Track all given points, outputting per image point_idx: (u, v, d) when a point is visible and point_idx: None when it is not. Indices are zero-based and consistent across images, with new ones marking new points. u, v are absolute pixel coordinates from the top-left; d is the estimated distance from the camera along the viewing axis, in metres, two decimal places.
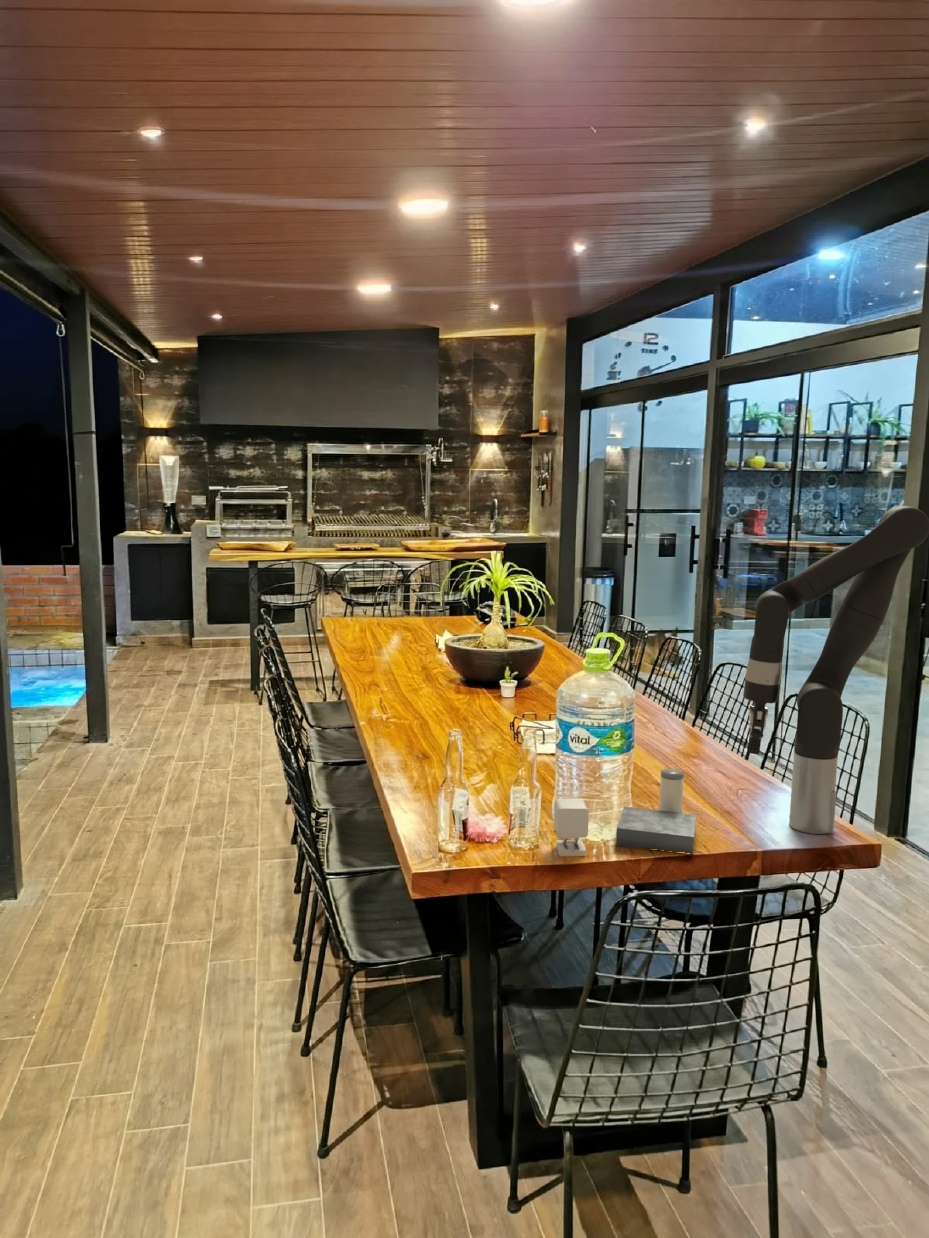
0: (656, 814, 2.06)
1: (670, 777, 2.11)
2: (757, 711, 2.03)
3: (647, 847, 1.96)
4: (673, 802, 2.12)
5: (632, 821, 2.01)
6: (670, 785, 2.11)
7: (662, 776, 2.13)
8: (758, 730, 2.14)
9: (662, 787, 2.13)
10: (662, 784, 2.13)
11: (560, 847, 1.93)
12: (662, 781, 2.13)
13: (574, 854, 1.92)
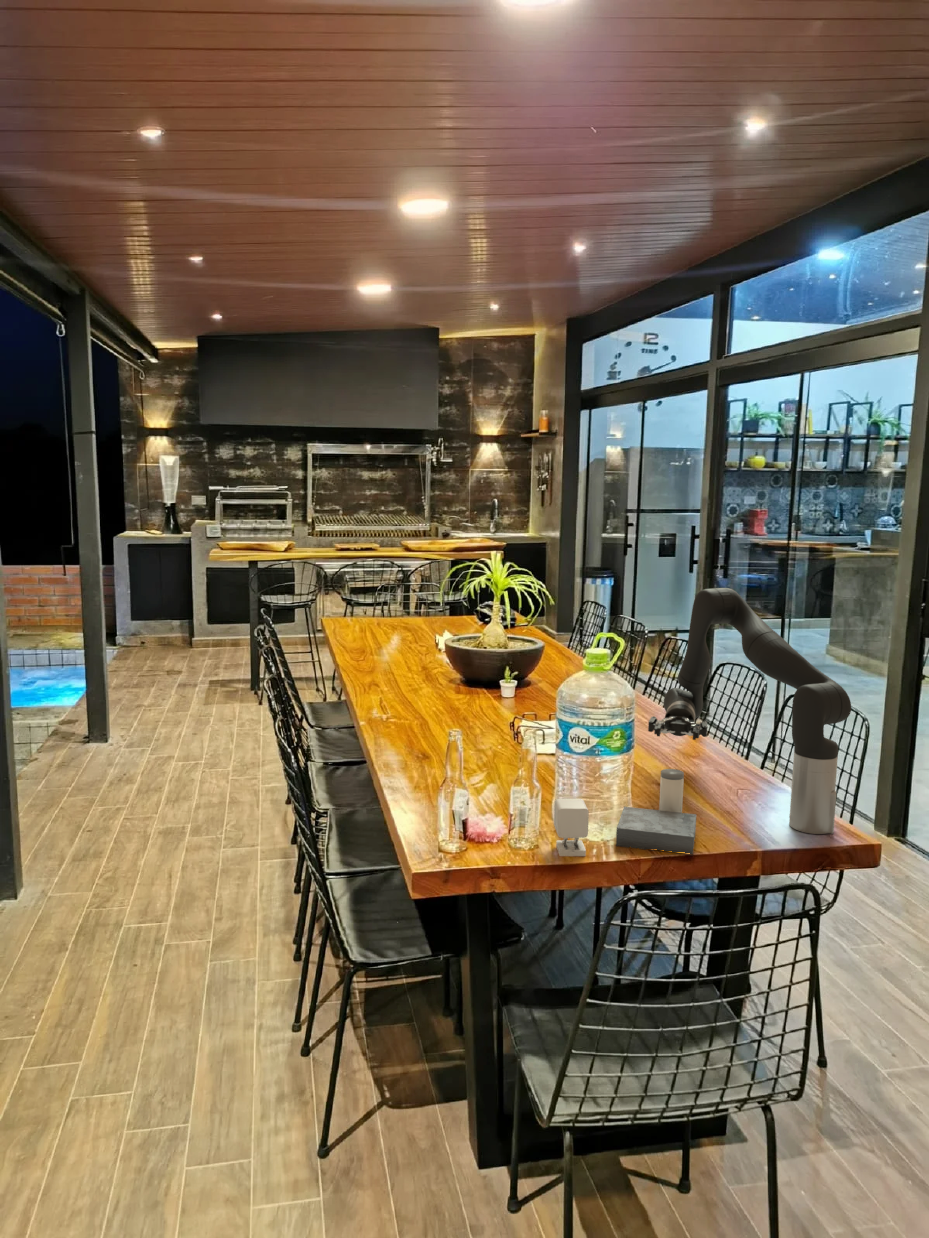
0: (656, 814, 2.06)
1: (670, 777, 2.11)
2: None
3: (647, 847, 1.96)
4: (673, 802, 2.12)
5: (632, 821, 2.01)
6: (670, 785, 2.11)
7: (662, 776, 2.13)
8: (693, 729, 2.26)
9: (662, 787, 2.13)
10: (662, 784, 2.13)
11: (560, 847, 1.93)
12: (662, 781, 2.13)
13: (574, 854, 1.92)
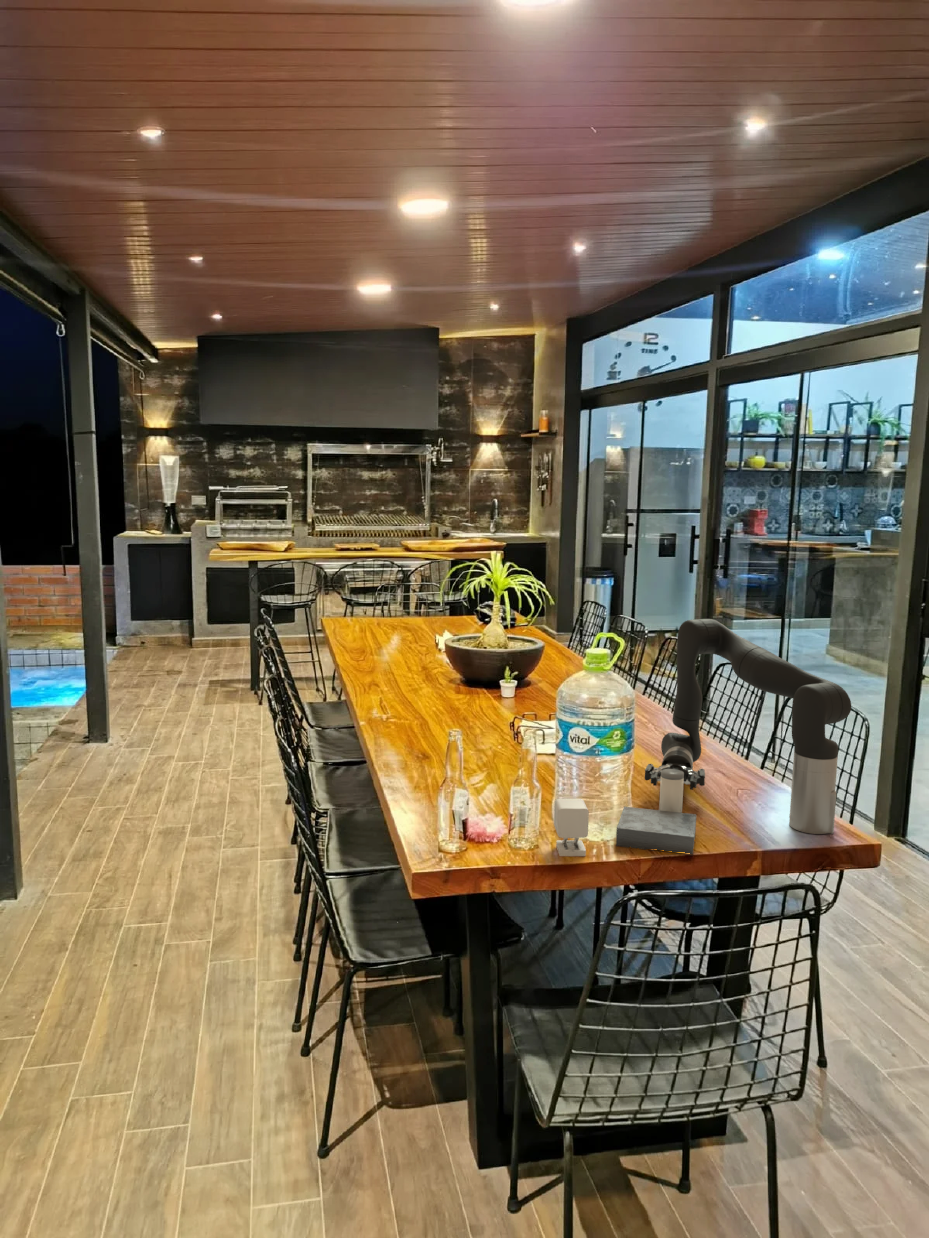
0: (656, 814, 2.06)
1: (670, 777, 2.11)
2: None
3: (647, 847, 1.96)
4: (673, 802, 2.12)
5: (632, 821, 2.01)
6: (670, 785, 2.11)
7: (662, 776, 2.13)
8: (690, 778, 2.21)
9: (662, 787, 2.13)
10: (662, 784, 2.13)
11: (560, 847, 1.93)
12: (662, 781, 2.13)
13: (574, 854, 1.92)
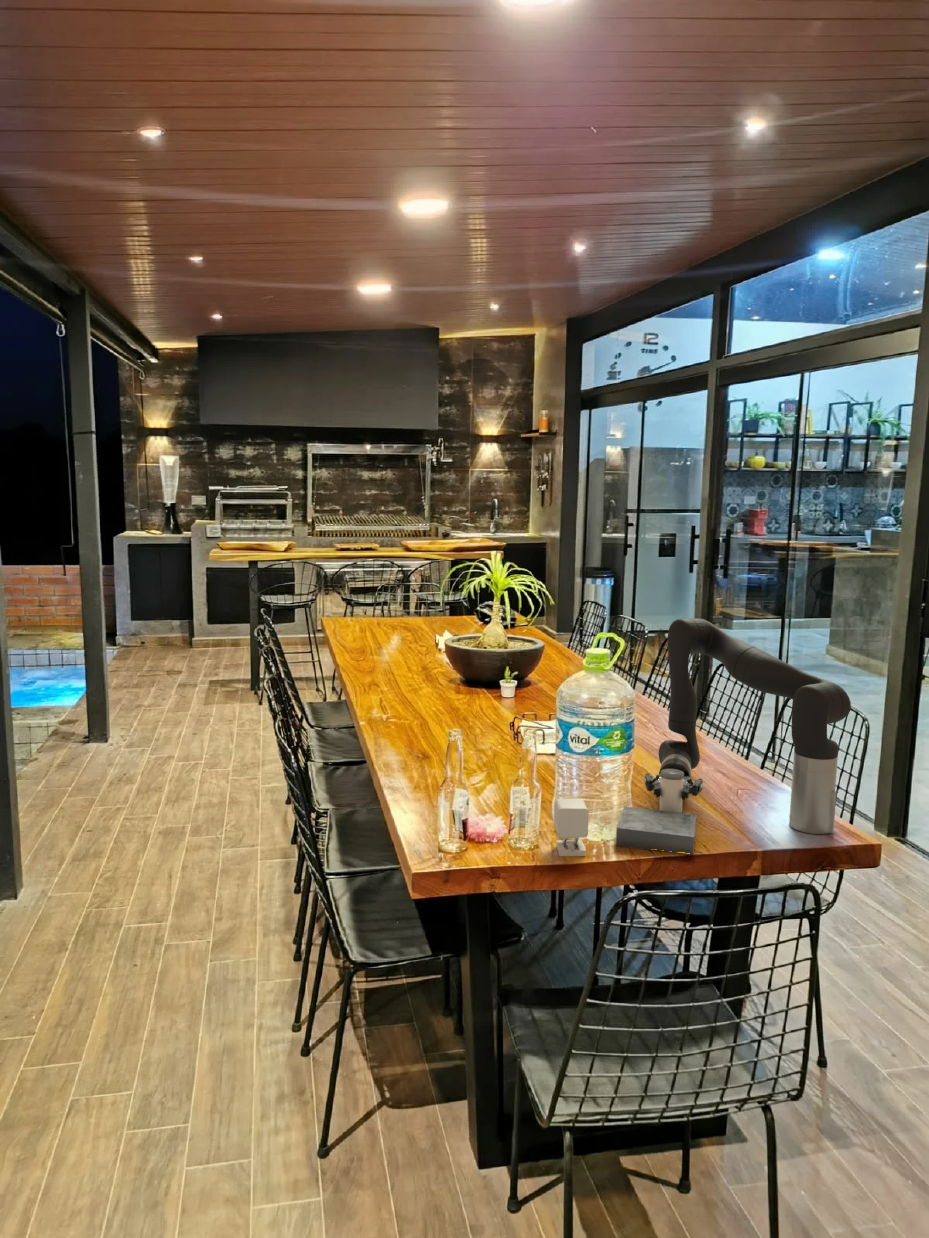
0: (656, 814, 2.06)
1: (670, 777, 2.11)
2: None
3: (647, 847, 1.96)
4: (673, 802, 2.12)
5: (632, 821, 2.01)
6: (670, 785, 2.11)
7: (662, 776, 2.13)
8: (683, 788, 2.14)
9: (662, 787, 2.13)
10: (662, 784, 2.13)
11: (560, 847, 1.93)
12: (662, 781, 2.13)
13: (574, 854, 1.92)
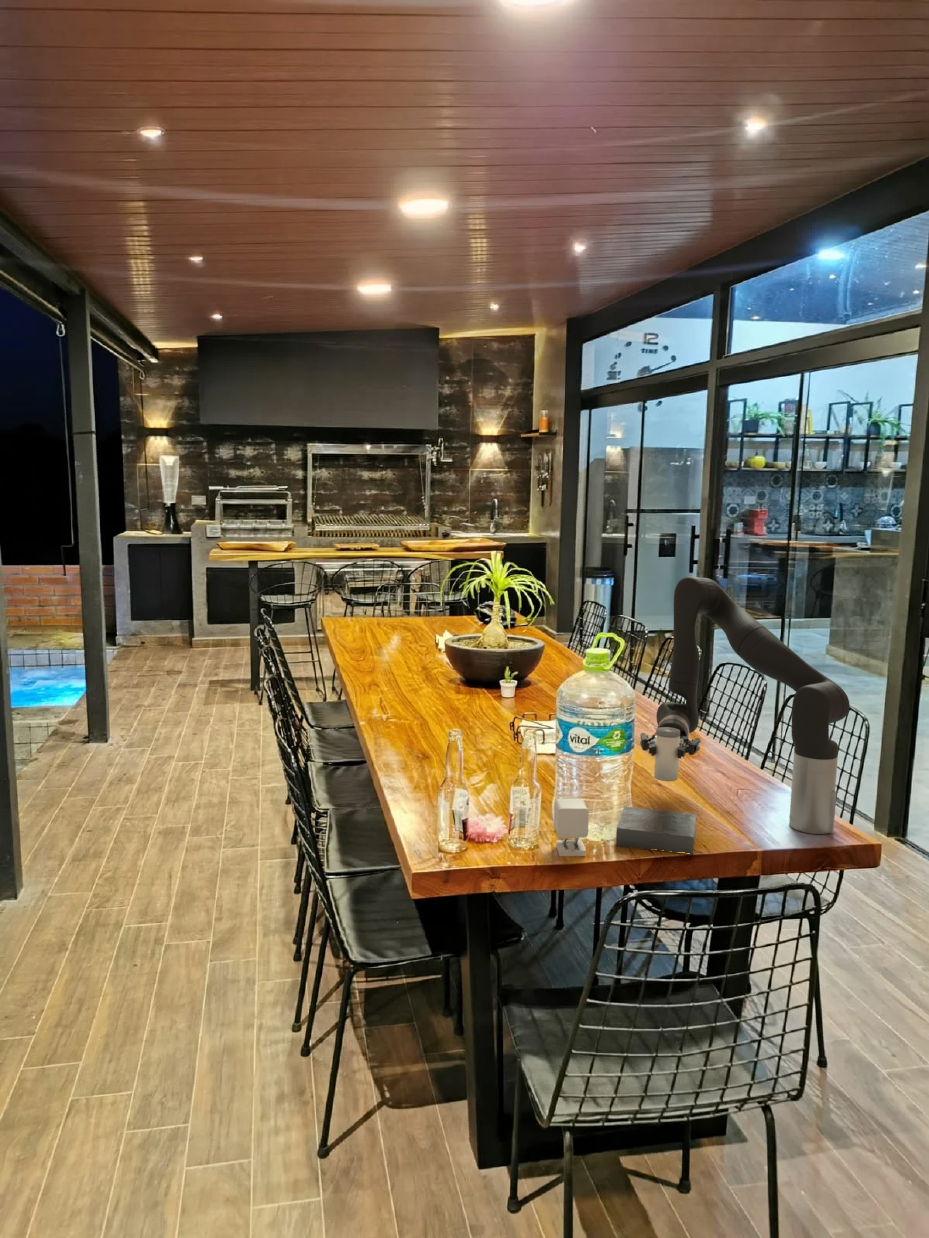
0: (656, 814, 2.06)
1: (665, 735, 2.04)
2: None
3: (647, 847, 1.96)
4: (669, 760, 2.05)
5: (632, 821, 2.01)
6: (665, 742, 2.04)
7: (657, 734, 2.06)
8: (679, 746, 2.07)
9: (657, 745, 2.06)
10: (657, 742, 2.06)
11: (560, 847, 1.93)
12: (657, 739, 2.06)
13: (574, 854, 1.92)
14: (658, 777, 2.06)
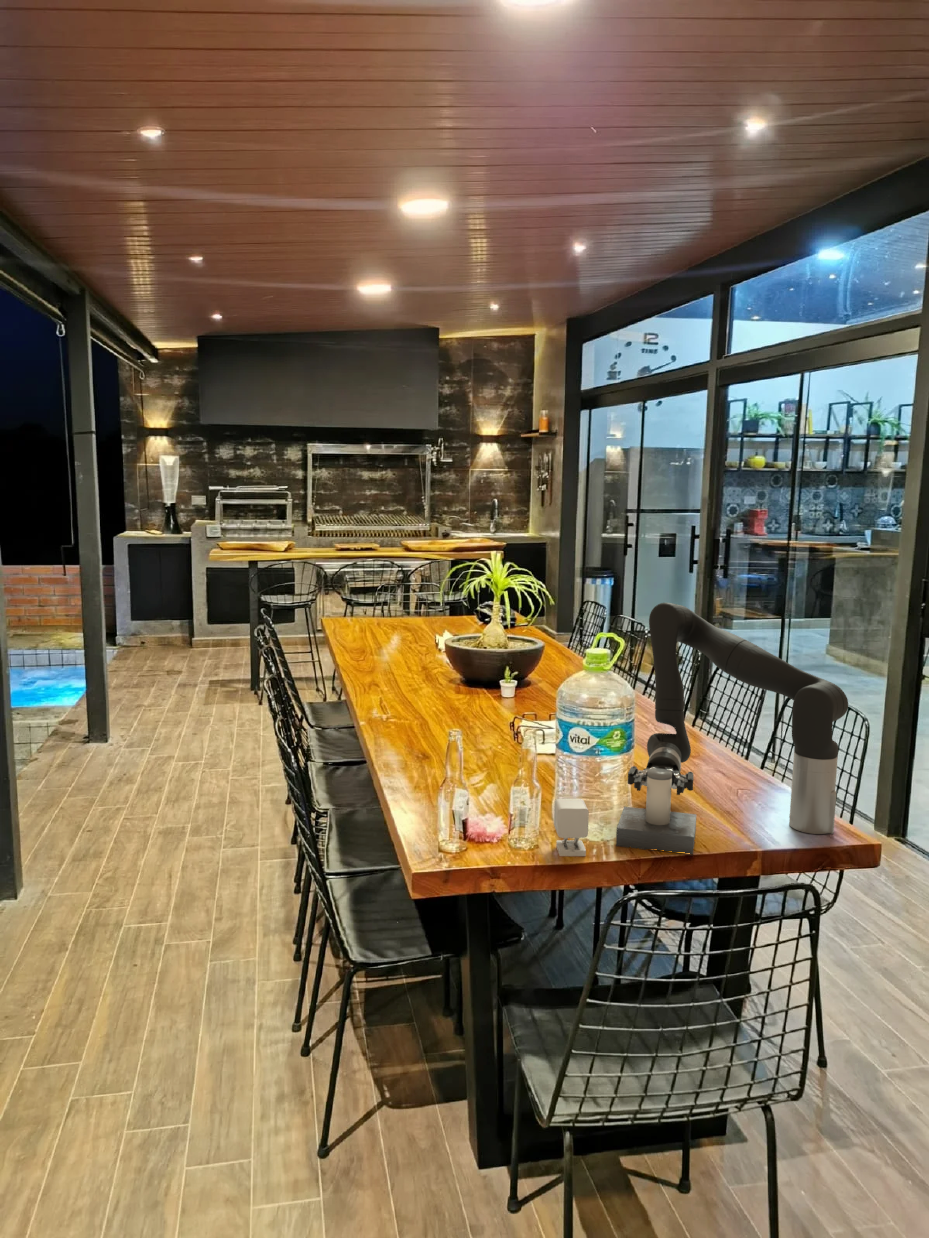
0: None
1: (657, 777, 1.98)
2: None
3: (647, 847, 1.96)
4: (661, 804, 1.98)
5: (632, 821, 2.01)
6: (657, 785, 1.98)
7: (649, 776, 1.99)
8: (677, 782, 2.01)
9: (649, 788, 2.00)
10: (649, 785, 1.99)
11: (560, 847, 1.93)
12: (649, 781, 1.99)
13: (574, 854, 1.92)
14: (650, 820, 2.00)
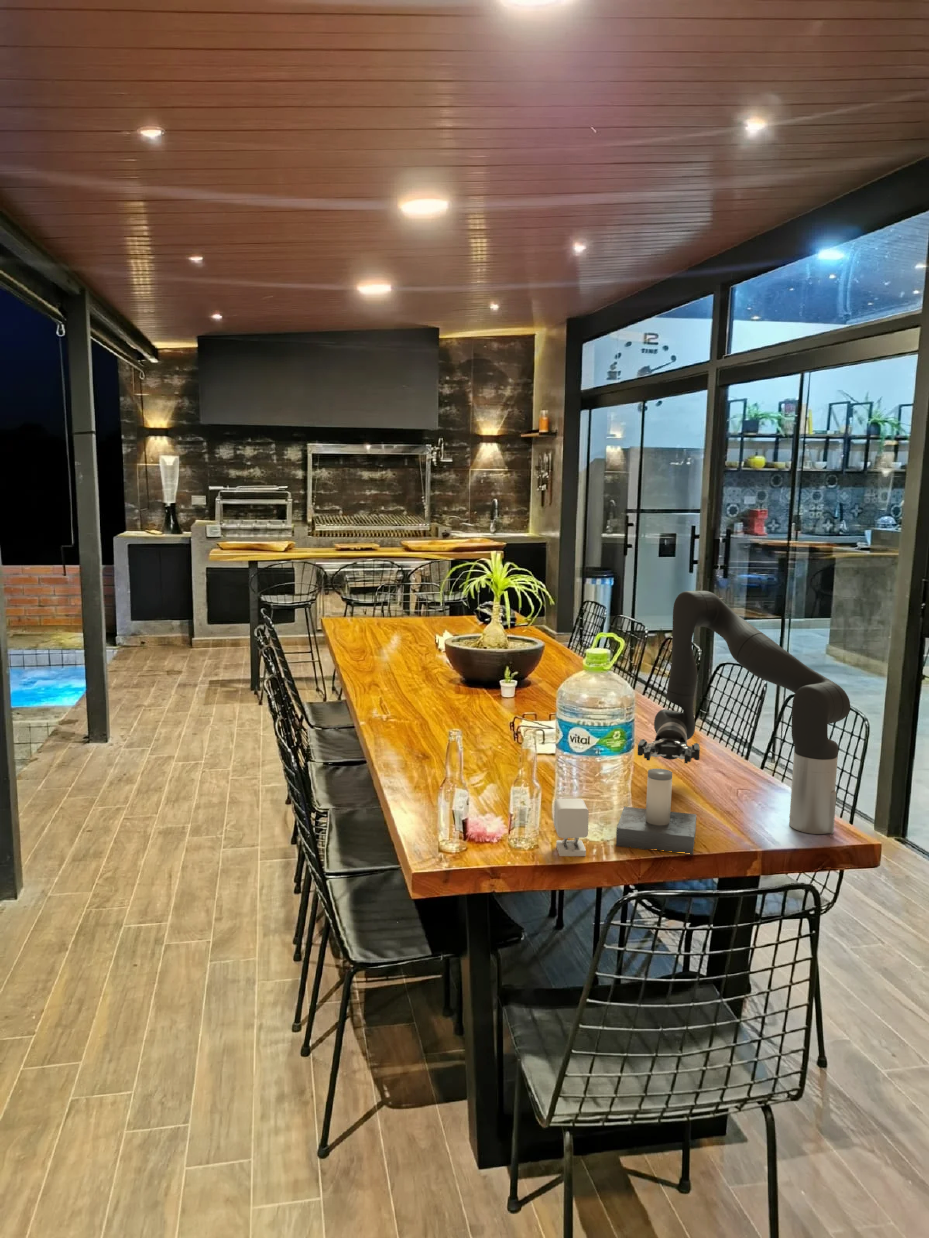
0: None
1: (657, 777, 1.98)
2: None
3: (647, 847, 1.96)
4: (661, 804, 1.98)
5: (632, 821, 2.01)
6: (657, 785, 1.98)
7: (649, 776, 1.99)
8: (685, 752, 2.14)
9: (649, 788, 1.99)
10: (649, 785, 1.99)
11: (560, 847, 1.93)
12: (649, 782, 1.99)
13: (574, 854, 1.92)
14: (650, 821, 2.00)
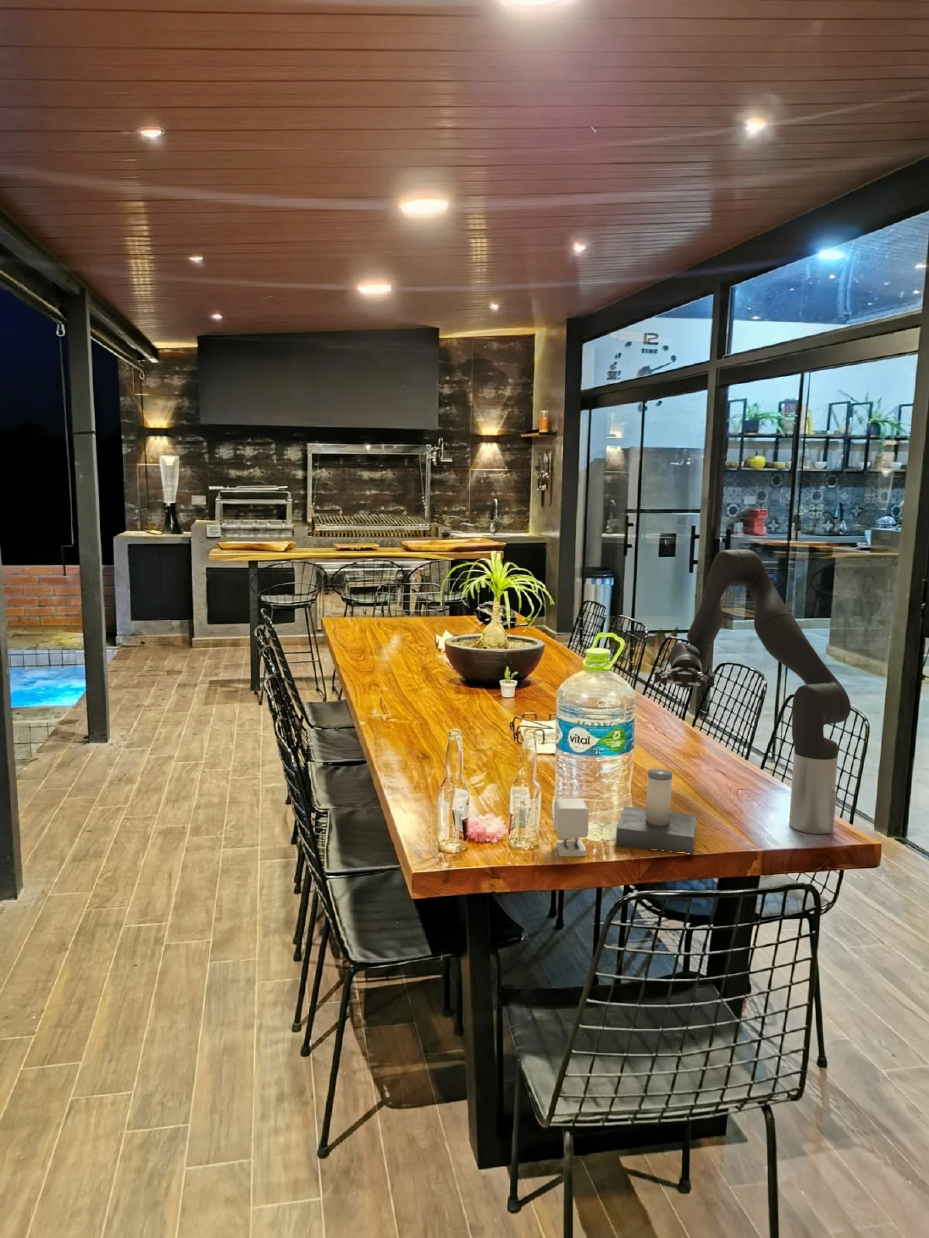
0: None
1: (657, 777, 1.98)
2: None
3: (647, 847, 1.96)
4: (661, 804, 1.98)
5: (632, 821, 2.01)
6: (657, 785, 1.98)
7: (649, 776, 1.99)
8: (700, 678, 2.22)
9: (649, 788, 1.99)
10: (649, 785, 1.99)
11: (560, 847, 1.93)
12: (649, 782, 1.99)
13: (574, 854, 1.92)
14: (650, 821, 2.00)
